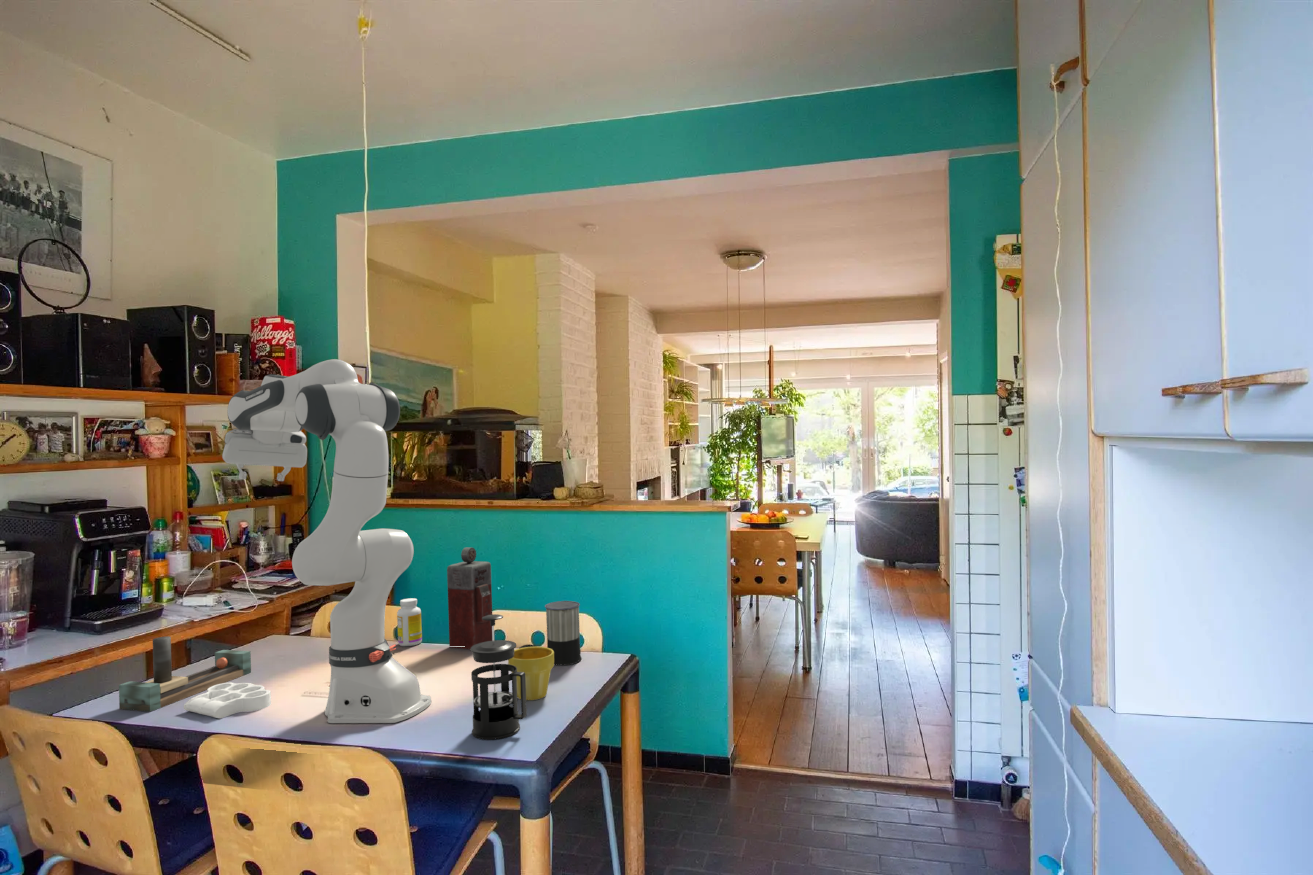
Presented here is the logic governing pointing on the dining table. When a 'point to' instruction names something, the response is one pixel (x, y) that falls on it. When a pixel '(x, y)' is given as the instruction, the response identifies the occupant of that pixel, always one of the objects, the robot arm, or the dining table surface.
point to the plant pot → (533, 670)
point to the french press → (495, 706)
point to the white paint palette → (230, 699)
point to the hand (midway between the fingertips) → (261, 479)
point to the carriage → (164, 666)
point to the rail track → (149, 693)
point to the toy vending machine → (469, 601)
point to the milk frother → (563, 632)
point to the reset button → (221, 663)
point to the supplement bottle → (409, 623)
